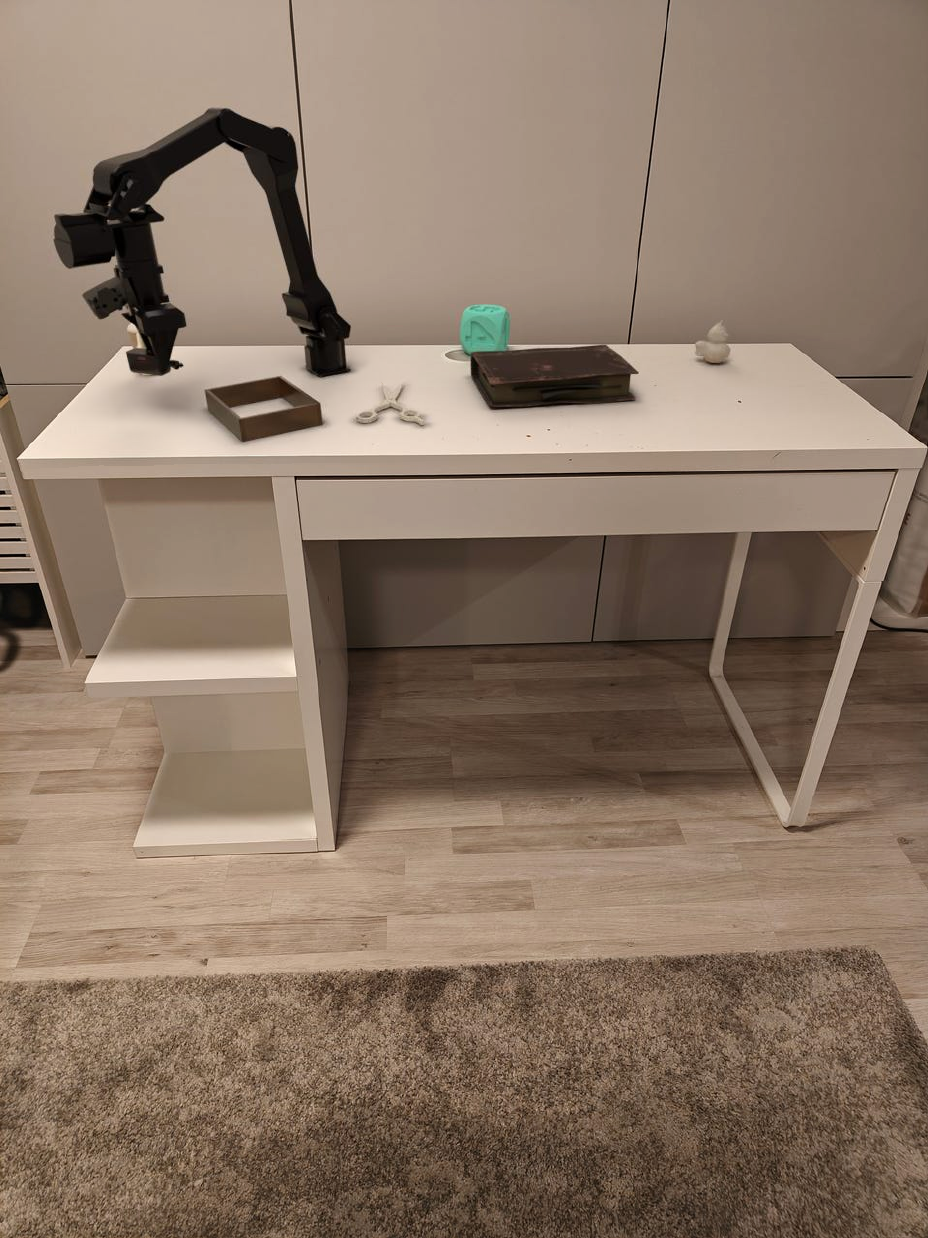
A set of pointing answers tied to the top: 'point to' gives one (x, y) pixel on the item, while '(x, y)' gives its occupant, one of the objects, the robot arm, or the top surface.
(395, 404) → the scissors
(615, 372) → the diary
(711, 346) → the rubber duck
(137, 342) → the milkshake
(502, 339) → the decorative dice
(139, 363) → the black dial case
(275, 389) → the desk tray
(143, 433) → the top surface
